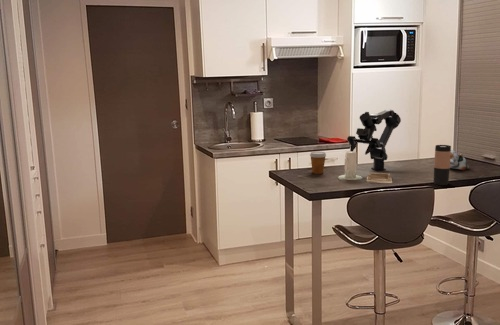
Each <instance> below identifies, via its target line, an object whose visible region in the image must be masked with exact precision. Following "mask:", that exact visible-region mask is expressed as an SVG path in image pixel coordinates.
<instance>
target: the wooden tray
mask: <svg viewBox="0 0 500 325" xmlns="http://www.w3.org/2000/svg"><path fill="white" fill-rule="evenodd" d="M392 179H393V178H392V177H391V173H385V172H384V173H382V172H379V173H378V172H368V176H366V183H374V184H375V183H376V184H377V183H378V184H379V183H381V184H393V180H392Z"/></svg>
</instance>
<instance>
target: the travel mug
mask: <svg viewBox="0 0 500 325" xmlns="http://www.w3.org/2000/svg"><path fill="white" fill-rule="evenodd" d="M451 150H452V146H451V145H448V144H436V145H435V147H434V159H433V160H434V161H433V162H434V164H433V184H435V185H438V186H447V185H448V184H449V180H450V170H451V168H450V155H451Z"/></svg>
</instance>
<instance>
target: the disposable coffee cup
mask: <svg viewBox="0 0 500 325" xmlns="http://www.w3.org/2000/svg"><path fill="white" fill-rule="evenodd" d="M309 156H310V161H311V164H310V165H311V170H312V173H313V174H316V175H321V174H323V173H324V171H325V170H324V168H325V161H326V157H327V153H326V152H325V151H311V152H310V154H309Z"/></svg>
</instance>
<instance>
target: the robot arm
mask: <svg viewBox="0 0 500 325" xmlns="http://www.w3.org/2000/svg"><path fill="white" fill-rule="evenodd" d="M359 120H360V122H361V125H362V126H363V127H364V128H359V127H358V128H356V132H355V135H357V138H356V136H355V135H348V136H347V138H346V140H347V142H348V144H349V146H350V151H355V149H356V147H357V144H358V143H359V144H365V145H368V146H367V148H366V150H365V153H364V155H369V156H370V160H373V166H372V167H371V170H374V171H385V170H386V169H387V168H385V161H387V160H388V157H389V156H388V154H387V151H386V146H387V144H388V142H389V140H390V137H391V136H392V133H393V131H394V130H395V129H396V128H398V127H399V125H400V124H401V121H402V119H401V117H400V115H399V114H398V113H396V112H395V111H394V109H389V108H388V109H384V110H383V111H380V112H378V113H370V112H369V111H365V112H364V113H362V114H360V115H359ZM383 120H384V122H385V127H384V129H383V132H382V133H381V135H380V137H379V138H378V137H373V134H374V132H377V126H376V125H380V124H381V123H382V122H383Z"/></svg>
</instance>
